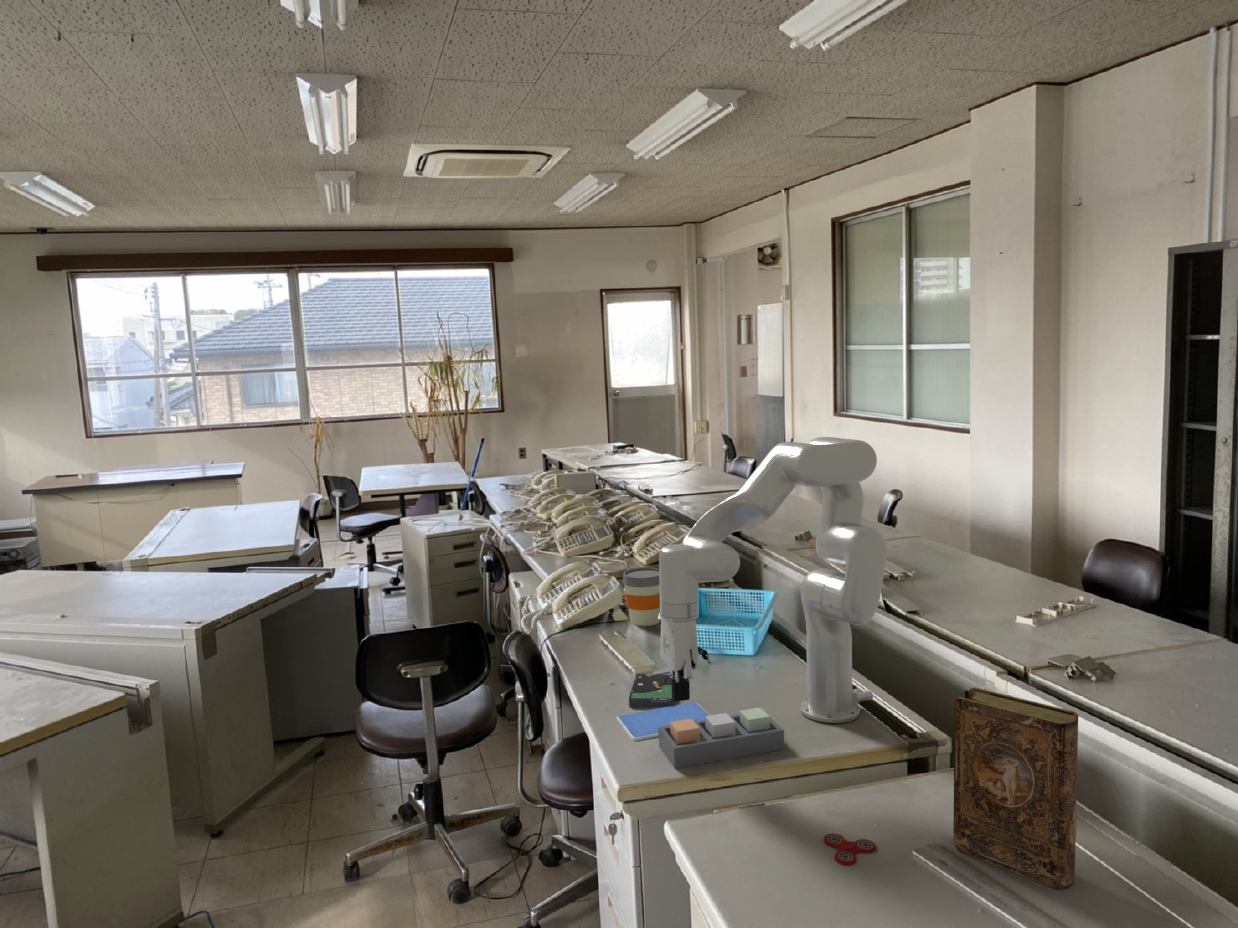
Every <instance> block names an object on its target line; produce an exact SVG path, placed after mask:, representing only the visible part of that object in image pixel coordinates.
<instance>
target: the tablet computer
mask: <svg viewBox="0 0 1238 928" xmlns="http://www.w3.org/2000/svg"><path fill="white" fill-rule="evenodd" d="M710 715H711V714H710V713H708V711H707V710H705V709H704V708H703V707H702V706H701V705H700V704H699V703H698V702H697V701H692V702H686V703H680V704H674V706H669V707H663V708H653V709H649V710H643V711H637V712H632V713H631V712H630V713H627V714H621V715H618V716H616V721H617V722H618V724H619V725H620V726H621V727H622V729H623V730H624V731H625V733H626V734H627V735H628V737H629V738H630V739H631V741H633V742H639V741H644V740H650V739H653V738H654V739H655V738H659V735H658V727H663V726H669V725H670V722H673V721H679V720H686V719H692V720H693V721H700V720H705V716H710Z"/></svg>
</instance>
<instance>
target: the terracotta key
mask: <svg viewBox="0 0 1238 928" xmlns="http://www.w3.org/2000/svg"><path fill="white" fill-rule="evenodd" d="M670 734H671V735H672V737H673V738H674V739H675V741H676V742H677V743H678V744H679V743H685V742H691V741H697V740H700V728H699V727H698V725H697V724H696V723H695V722H694V721H693V720H692V719H686V720H679V721H673V722H670Z"/></svg>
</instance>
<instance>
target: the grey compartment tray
mask: <svg viewBox="0 0 1238 928" xmlns="http://www.w3.org/2000/svg"><path fill="white" fill-rule="evenodd" d="M729 716H730V717H731V718H732V719H733V720H734V721H735V734H732V735H727V736H721V737H715V738H714V737H713V736H712V735H711V734H710V733H709V732H708V730H707V729H706V727H705V720H700V721H694V722H695V723H696V724H697V725H698V727H699V728H700V740H697V741H691V742H685V743H679V744H678V743H677V742H676V741H675V739H674V738H673V737H672V735H671V734H670V725H669V726H663V727H658V735H659V737H658V747H659V748H660V750H661V751H662V753H663V754H664V756H665V757H666V758H667V759H668V761H669V762H670V765H672V767H673V768H674V769H680V768H685V767H691V766H697V765H702V764H708V763H712V762H719V761H724V760H731V759H736V758H741V757H748V756H753V755H758V754H764V753H771V752H775V751H780V750H785V730H784V728H782V727H781V725H779V724H778V723H777V722H776V721H775V720H774V719H772V717H770V728H768V729H762V730H756V731H750V732H749V731H748V730H747V729H746V728H745V727H744V726H743V725H742V724H741V723H740V713H738V714H737V713H736V714H732V715H729Z"/></svg>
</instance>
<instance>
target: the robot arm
mask: <svg viewBox="0 0 1238 928" xmlns="http://www.w3.org/2000/svg"><path fill="white" fill-rule="evenodd" d="M877 458H878V457H877V453H876V451H875V449H874V447H873V446H872V445H870V444H869V443H868V442H866V441H863V440H860V439H851V438H840V437H832V436H821V437H816V438H813V439H811V440H810V441H809V442H808V443H806V442H796V441H784V442H780V443H777V444H776V445H774V446H773V447H772V448H771V449H770V451H769V452H768V453H767V454H766V456H764V458H763V460H762V461H761V462H760V463H759V464H758V465H757V467H756V468H755V470H753V472H752V473H751V474H750V476H749V477H748V478H747V480H746V481H745V482H744V483H743V485H742V486H741V487H740V489H739V490H737V492H735V493H733V494H732V495H730V496H729V497H727V498H726V499H724V500H723V501H721V502H720V503H718V504H716V505H715V506H713V507H712V508H711V509H709V510H708V511H706V512H705V513H704V514H703V515H702V516H701V517H700V518H699V519H698V520H697V521H696V522H695V523H694V524H693V526H692V528H690V530H689V531H688V533H687V534H686V535H685V537H684V538H683V540H682V541H681V542H680V543H675V544H669V545H665V546H663V547H662V548H661V549H660V551H659V553H658V561H659V562H658V569H659V579H660V617H661V619H660V635H659V636H660V637H659V639H660V641H659V650H660V651H659V656H660V659H661V660H662V662H664V663H665V664H666V665H667V666H668V667H669V669H670V675H671V677H672V679H671V683H672V698H673V699H674V701H675V702H682V701H689V700H690V696H691V695H690V693H691V691H690V683H691V682H690V681H691V679H692V678H693V670H696V669H697V668H698V663H699V648H698V647H699V646H698V645H699V644H698V632H697V631H698V630H697V623H696V619H698V618H699V615H700V613H699V611H700V610H699V608H700V607H699V605H700V604H699V601H700V600H699V583H700V582H713V583H714V582H716V583H717V582H724V581H727V580H730V579H731V578H733V577H734V576H736V574H737V572H738V571H739V569H740V567H741V559H740V556H739V553H738V552H737V550H735V548H733V546H731V545H729V544H728V543H727V544H726V543H724V542H723V541H724V540H725V539H726V538H728V536H730V535H731V534H733V533H735V532H736V531H738V530H741V529H743V528H746V527H751V526H754V525H758V524H760V523H763V522H766V521H768V520H770V519H771V518H772V517H773V516H775V514H776V513H777V511H778V510H779V509H780V507H781V506H782V505H783V503H784V502H785V501H786V499H787V498H788V497H789V495H791V493H792V492H793V491H794V489H795V488H796V487H797V486H798V485H799V486H804V487H810V488H821V492H822V500H821V501H822V502H821V509H820V516H819V522H818V528H817V534H816V540H815V551H816V554H817V555H818V558H820V559H821V560H823V561H824V562H826V563H830V564H832V565H835V566H839V567H843V568H845V573H844V572H841V571H838V570H835V569H831V568H816V569H814V570H810V571H809V573H807V574H806V575H805V576H804V578H803V581H802V583H801V587H800V597H801V598H800V599H801V603H802V609H803V612H804V618H805V628H806V629H805V630H806V631H805V633H806V635H805V636H806V638H805V639H806V684H807V685H806V686H807V687H806V688H807V690H806V691H807V692H806V693H807V698H805V699H804V700H802V702H801V703H800V711H801V712H800V713H801V714H802V715H804V716H805V717H806V718H808V719H810V720H813V721H815V722H819V723H826V724H843V723H847V722H851V721H854V720H855V719H857V718H858V717H859V716H860V714H861V707H860V705H859V704H860V703H861V701H871V700H873V699H874V694H873V691H871V690H866V691H865V690H864V691H862V690H861V688H854V689H853V652H852V651H853V650H852V649H853V648H852V647H853V646H852V644H853V639H852V638H853V636H852V629H851V625H856V626H861V625H865V624H867V623H868V622H870V621H871V620H872V618H873V617H874V616H875V614H876V612H877V609H878V607H879V605H880V604H879V603H880V598H881V593H882V588H883V582H884V575H885V572H886V564H887V559H888V558H887V556H888V548H887V543H886V541H885V538H884V536H883V534H882V533H881V532H880V531H879V530H877V529H876V528H874V527H871V526H869V525H865V524H864V525H863V524H862V519H863V510H864V492H863V488H862V485H861V482H863V481H865V480H867V479H868V478H869V477H871V476H872V474H873V473H874V472H875V469H876V467H877V464H878V463H877V461H878V459H877ZM673 678H674V679H673Z"/></svg>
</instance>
